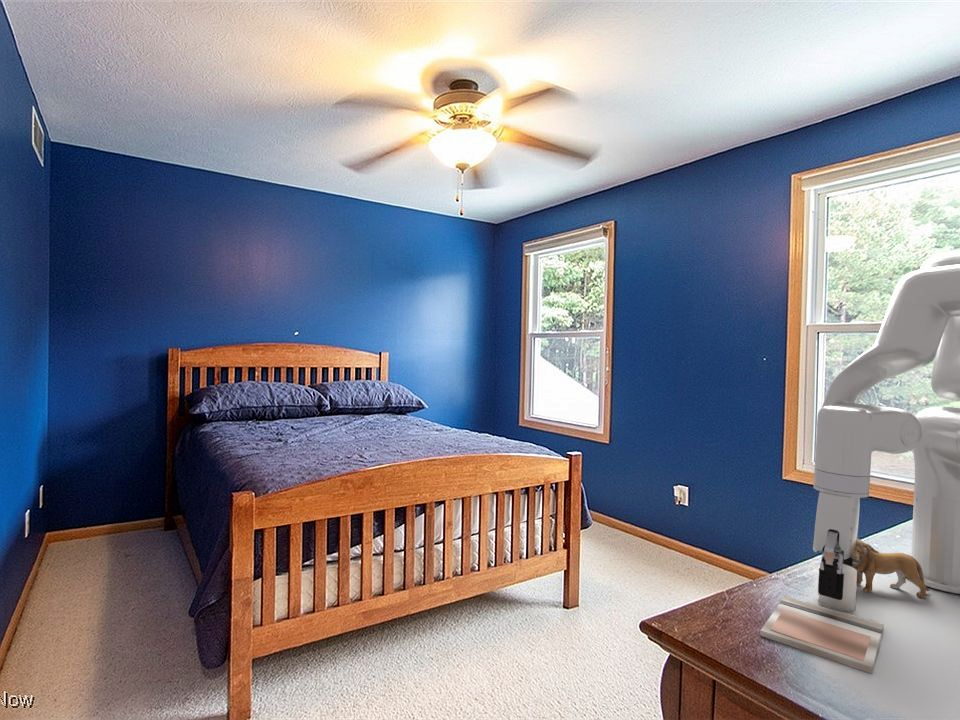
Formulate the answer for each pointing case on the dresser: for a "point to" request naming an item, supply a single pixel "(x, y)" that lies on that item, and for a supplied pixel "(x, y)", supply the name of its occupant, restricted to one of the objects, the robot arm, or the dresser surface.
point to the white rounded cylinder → (844, 592)
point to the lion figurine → (886, 567)
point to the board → (825, 633)
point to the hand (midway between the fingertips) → (835, 587)
